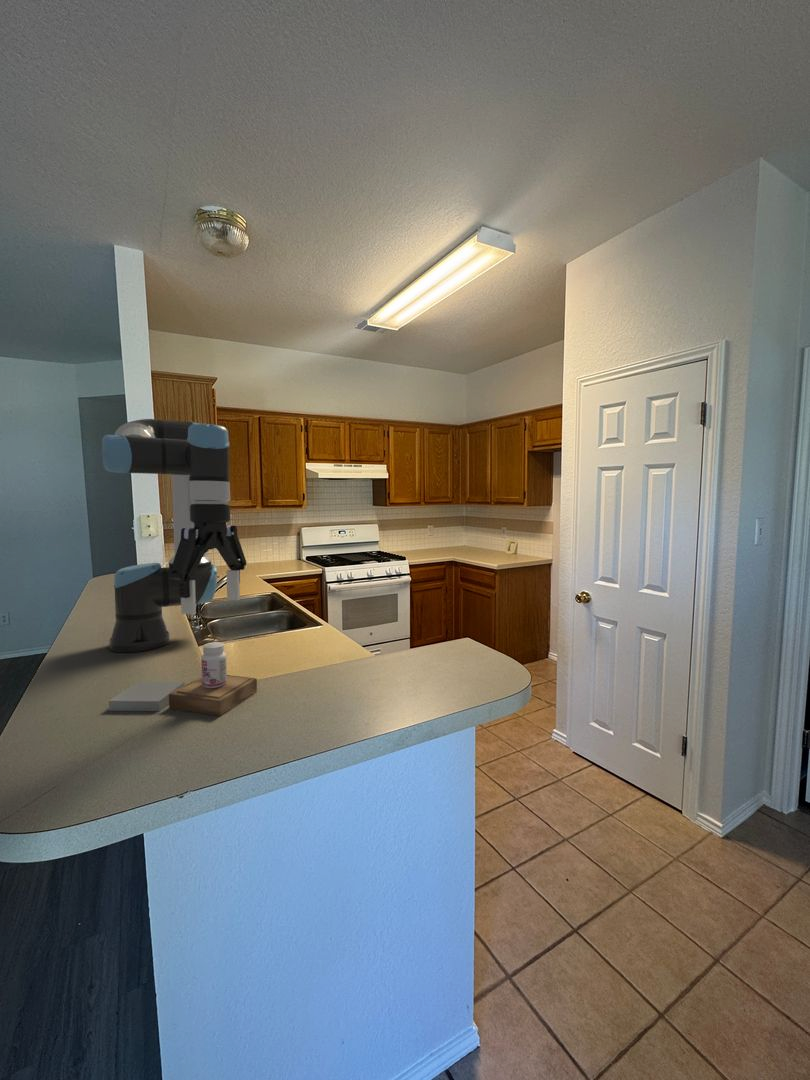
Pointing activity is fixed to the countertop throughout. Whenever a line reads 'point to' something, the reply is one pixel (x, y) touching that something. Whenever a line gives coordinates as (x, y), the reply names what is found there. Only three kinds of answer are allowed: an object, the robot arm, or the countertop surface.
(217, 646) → the pill bottle
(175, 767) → the countertop surface
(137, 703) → the slate tile
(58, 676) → the countertop surface
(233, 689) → the walnut stand
